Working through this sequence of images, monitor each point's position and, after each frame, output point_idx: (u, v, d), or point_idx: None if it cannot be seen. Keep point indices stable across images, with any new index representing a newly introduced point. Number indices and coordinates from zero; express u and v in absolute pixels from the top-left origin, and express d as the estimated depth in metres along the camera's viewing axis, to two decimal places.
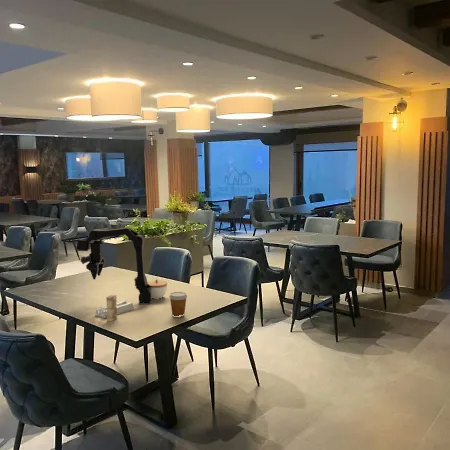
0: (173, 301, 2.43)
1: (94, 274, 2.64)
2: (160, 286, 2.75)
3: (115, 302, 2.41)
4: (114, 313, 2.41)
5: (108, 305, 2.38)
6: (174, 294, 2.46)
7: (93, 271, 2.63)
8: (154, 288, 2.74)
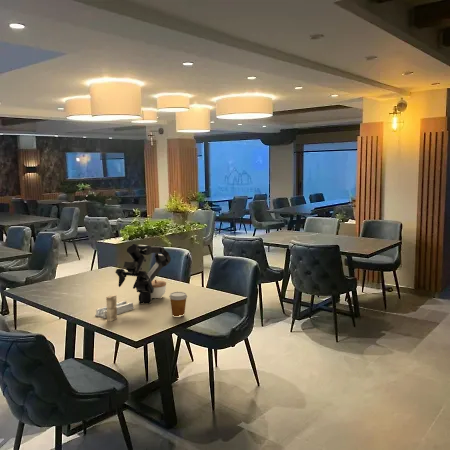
0: (173, 301, 2.43)
1: (137, 284, 2.52)
2: (158, 286, 2.75)
3: (115, 302, 2.41)
4: (114, 313, 2.41)
5: (108, 305, 2.38)
6: (174, 294, 2.46)
7: (138, 280, 2.52)
8: None
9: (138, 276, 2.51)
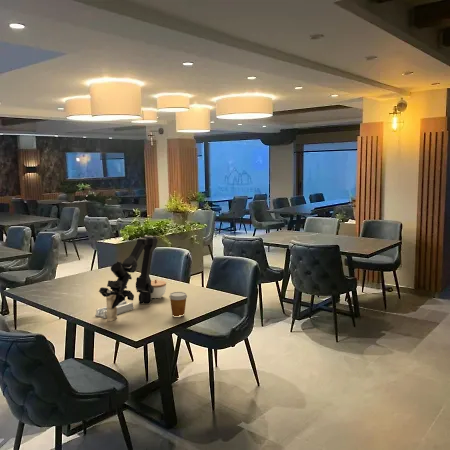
0: (173, 301, 2.43)
1: (117, 303, 2.40)
2: (158, 286, 2.75)
3: None
4: (114, 313, 2.41)
5: (108, 305, 2.38)
6: (174, 294, 2.46)
7: (118, 300, 2.41)
8: None
9: (117, 295, 2.39)
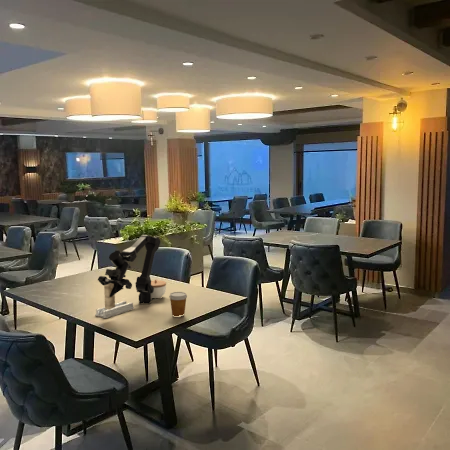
0: (173, 301, 2.43)
1: (115, 292, 2.40)
2: (158, 286, 2.75)
3: None
4: (112, 302, 2.41)
5: (106, 293, 2.38)
6: (174, 294, 2.46)
7: (116, 288, 2.41)
8: None
9: (115, 284, 2.40)
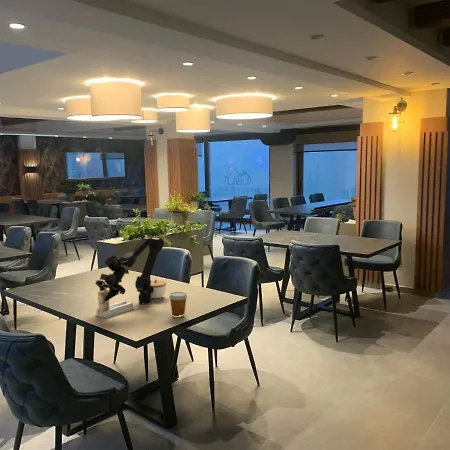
0: (173, 301, 2.43)
1: (110, 297, 2.44)
2: (158, 286, 2.75)
3: None
4: (106, 308, 2.46)
5: (99, 300, 2.44)
6: (174, 294, 2.46)
7: (111, 293, 2.45)
8: None
9: (110, 289, 2.44)
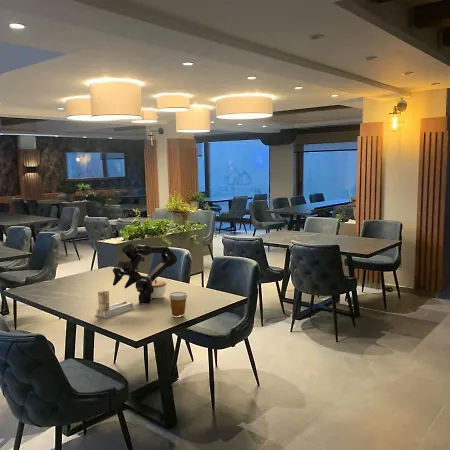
0: (173, 301, 2.43)
1: (129, 284, 2.52)
2: (158, 286, 2.75)
3: (107, 297, 2.46)
4: (106, 308, 2.46)
5: (99, 300, 2.44)
6: (174, 294, 2.46)
7: (131, 280, 2.53)
8: None
9: (130, 276, 2.52)
